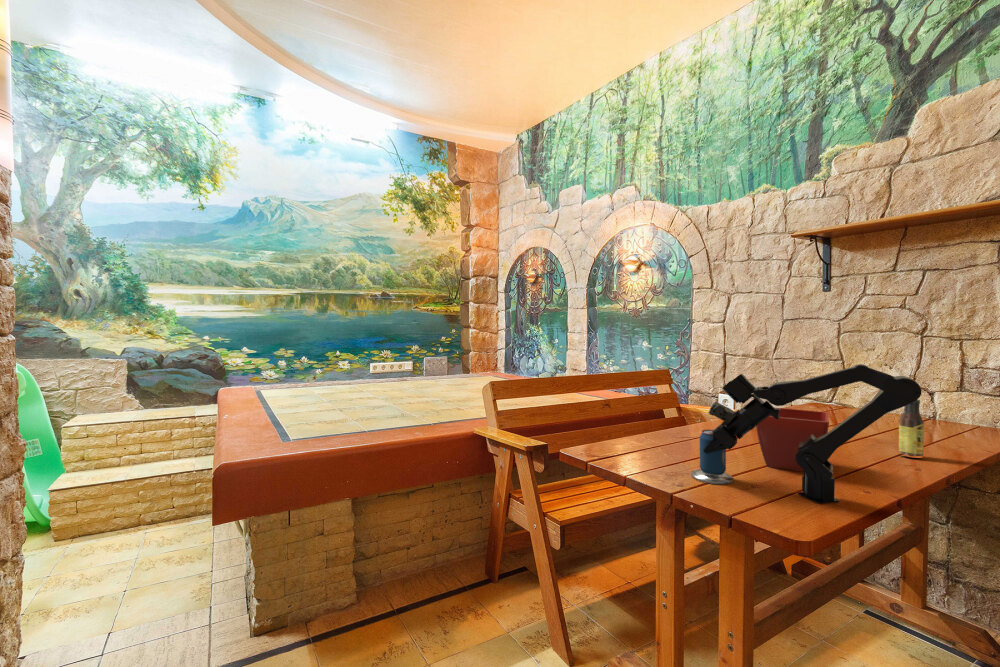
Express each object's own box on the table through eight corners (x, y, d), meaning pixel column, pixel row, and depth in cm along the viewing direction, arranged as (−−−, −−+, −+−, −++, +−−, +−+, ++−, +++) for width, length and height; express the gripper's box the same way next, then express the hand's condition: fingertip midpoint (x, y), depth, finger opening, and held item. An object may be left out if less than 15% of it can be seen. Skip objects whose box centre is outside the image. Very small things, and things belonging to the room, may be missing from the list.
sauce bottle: (922, 461, 148) (923, 401, 147) (897, 456, 153) (898, 399, 152) (924, 457, 152) (925, 399, 152) (900, 453, 157) (901, 396, 156)
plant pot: (759, 453, 156) (760, 405, 156) (826, 463, 145) (827, 411, 145) (753, 467, 141) (753, 414, 140) (828, 479, 130) (829, 422, 129)
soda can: (730, 476, 127) (730, 434, 127) (705, 476, 128) (704, 434, 127) (719, 468, 134) (719, 428, 134) (696, 468, 135) (695, 428, 134)
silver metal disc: (741, 483, 126) (741, 480, 126) (707, 485, 124) (707, 482, 124) (715, 470, 137) (715, 467, 137) (683, 473, 135) (683, 470, 135)
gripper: (733, 390, 135) (694, 422, 142) (720, 398, 120) (678, 433, 127) (763, 419, 131) (721, 450, 138) (754, 431, 116) (708, 465, 123)
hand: (707, 449), depth 131 cm, fingers closed on soda can, 7 cm apart
